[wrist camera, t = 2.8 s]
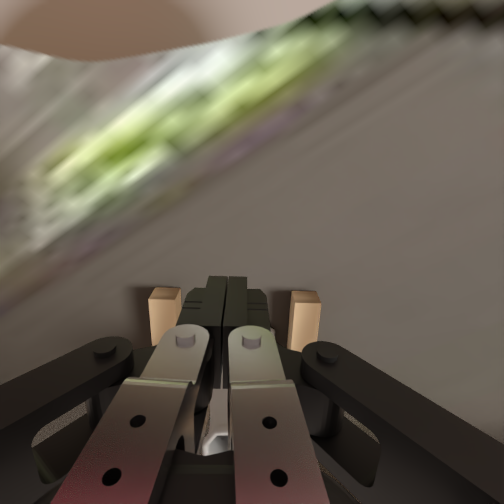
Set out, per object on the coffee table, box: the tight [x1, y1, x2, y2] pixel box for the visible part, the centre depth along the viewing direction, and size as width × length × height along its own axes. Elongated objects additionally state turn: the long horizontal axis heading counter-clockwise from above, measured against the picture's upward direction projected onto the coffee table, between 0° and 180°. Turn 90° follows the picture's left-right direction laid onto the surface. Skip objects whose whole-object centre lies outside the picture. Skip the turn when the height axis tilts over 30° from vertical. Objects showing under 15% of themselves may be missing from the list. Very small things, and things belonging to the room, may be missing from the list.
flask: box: [202, 327, 275, 456], centre depth 23 cm, size 7×7×10 cm
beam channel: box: [148, 287, 321, 352], centre depth 29 cm, size 13×23×2 cm, turn 178°
